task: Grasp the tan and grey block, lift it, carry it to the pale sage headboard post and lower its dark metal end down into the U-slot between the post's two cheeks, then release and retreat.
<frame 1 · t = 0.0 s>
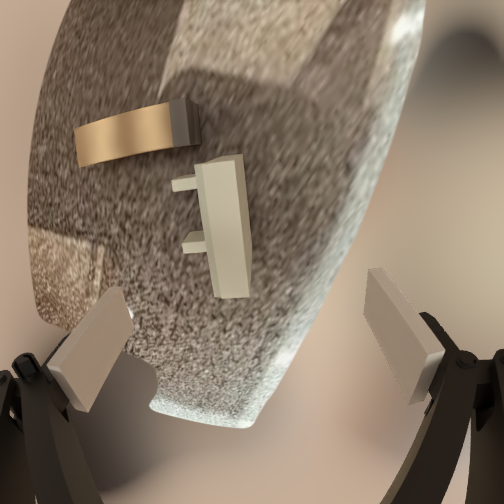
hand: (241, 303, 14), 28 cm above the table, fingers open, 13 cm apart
tan and grey block: (146, 133, 37), on the table
headboard: (216, 205, 41), on the table
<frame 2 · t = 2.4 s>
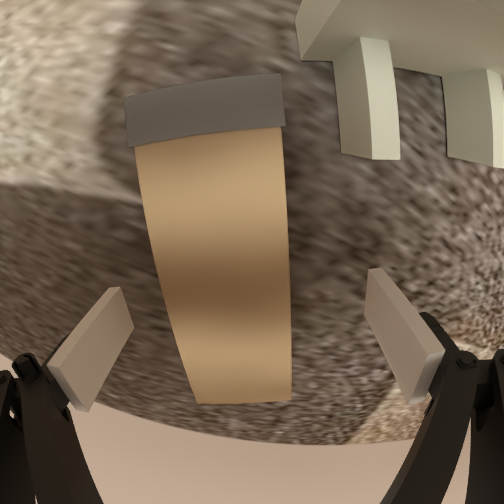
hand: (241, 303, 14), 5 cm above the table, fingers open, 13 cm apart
tan and grey block: (233, 230, 18), on the table
headboard: (405, 89, 14), on the table
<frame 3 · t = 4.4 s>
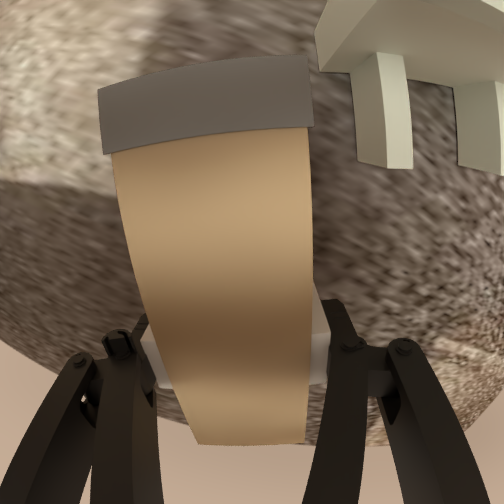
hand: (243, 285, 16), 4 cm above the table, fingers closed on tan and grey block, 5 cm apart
tan and grey block: (240, 250, 16), point 4 cm above the table, touching gripper
headboard: (418, 100, 15), on the table
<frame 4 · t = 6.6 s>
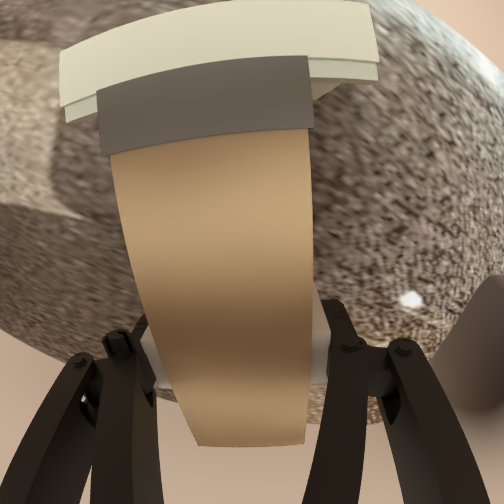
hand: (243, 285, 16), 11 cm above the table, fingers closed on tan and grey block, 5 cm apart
tan and grey block: (240, 251, 16), point 11 cm above the table, touching gripper
headboard: (235, 122, 23), on the table
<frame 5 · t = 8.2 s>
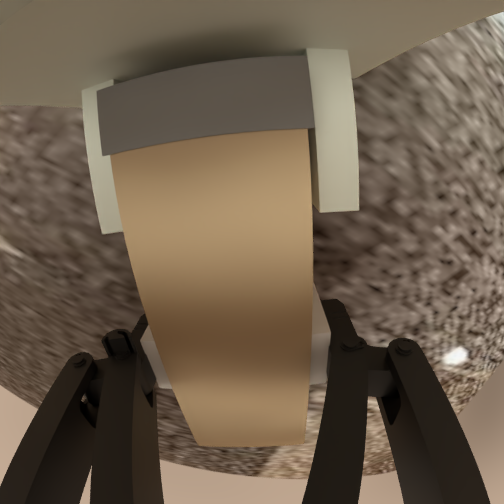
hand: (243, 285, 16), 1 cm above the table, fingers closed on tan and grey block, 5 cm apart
tan and grey block: (240, 251, 16), on the table, touching gripper
headboard: (224, 109, 13), on the table
when the fingers open (0 cm above the table, at t = 8.9 s): tan and grey block stays where it is, on the table.
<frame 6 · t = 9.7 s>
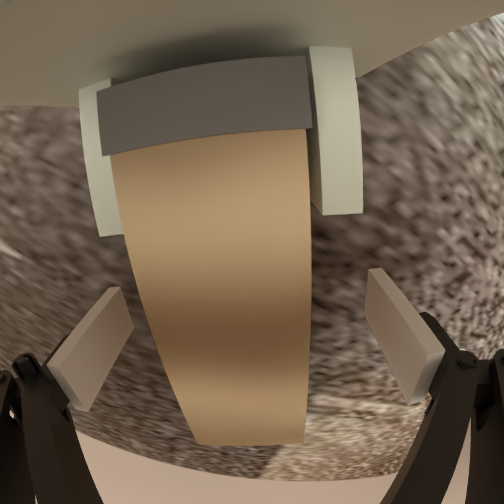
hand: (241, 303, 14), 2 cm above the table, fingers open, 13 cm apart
tan and grey block: (240, 250, 16), on the table
headboard: (224, 109, 13), on the table
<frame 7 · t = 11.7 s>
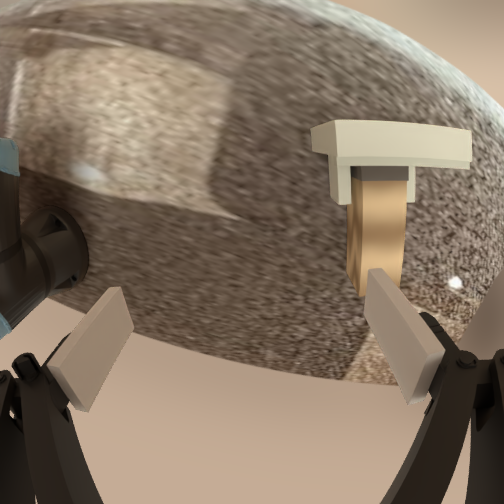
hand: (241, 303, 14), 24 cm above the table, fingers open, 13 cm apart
tan and grey block: (366, 217, 37), on the table
headboard: (365, 161, 34), on the table
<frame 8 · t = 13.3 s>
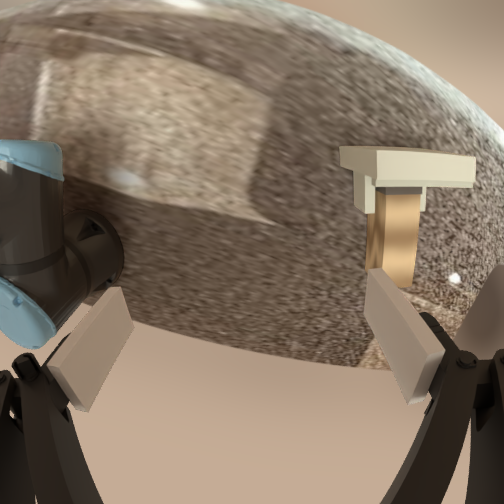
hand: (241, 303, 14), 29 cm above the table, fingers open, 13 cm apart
tan and grey block: (382, 222, 42), on the table
headboard: (383, 175, 39), on the table
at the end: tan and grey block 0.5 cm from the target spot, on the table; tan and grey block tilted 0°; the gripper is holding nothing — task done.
